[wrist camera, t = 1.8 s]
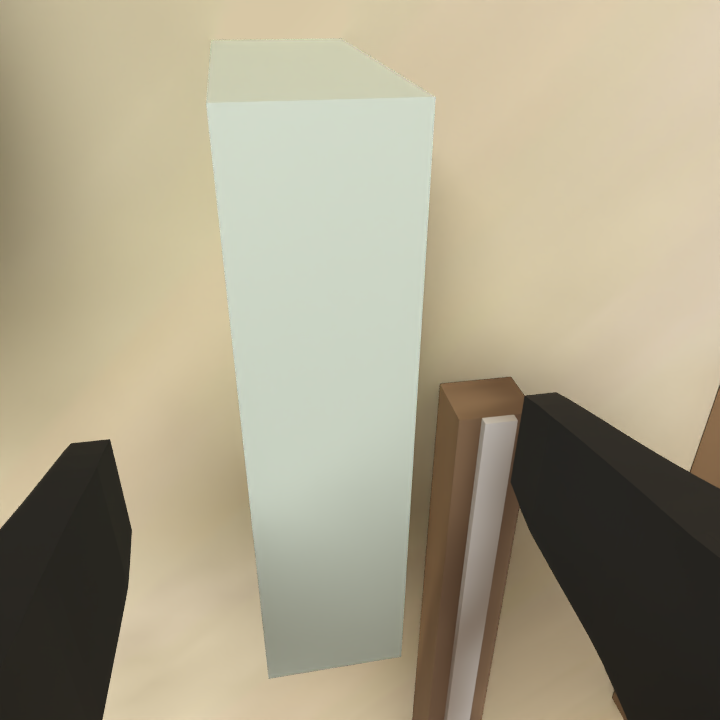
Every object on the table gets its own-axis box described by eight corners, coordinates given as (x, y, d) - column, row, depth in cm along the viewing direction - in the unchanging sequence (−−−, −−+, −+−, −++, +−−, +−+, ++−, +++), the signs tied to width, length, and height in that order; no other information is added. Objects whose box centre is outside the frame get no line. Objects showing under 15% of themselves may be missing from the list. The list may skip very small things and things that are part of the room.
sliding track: (791, 349, 23) (844, 384, 21) (655, 689, 33) (682, 734, 31) (439, 383, 21) (462, 426, 19) (411, 734, 31) (423, 785, 29)
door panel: (340, 37, 16) (435, 97, 9) (344, 441, 22) (400, 656, 15) (211, 39, 15) (206, 102, 8) (252, 451, 21) (268, 678, 14)
